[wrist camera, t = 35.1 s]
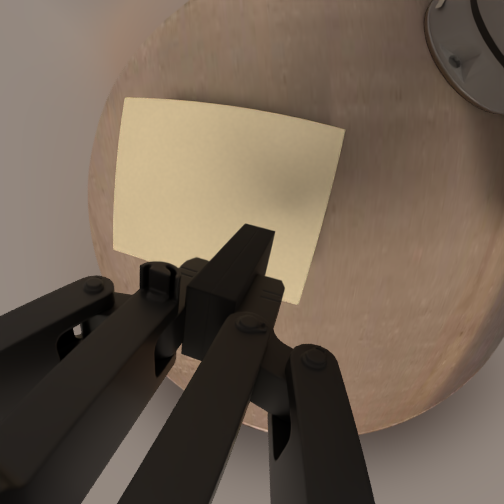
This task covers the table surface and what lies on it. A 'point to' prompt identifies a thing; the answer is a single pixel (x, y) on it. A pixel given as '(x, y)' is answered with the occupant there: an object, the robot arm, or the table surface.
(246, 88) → the table surface
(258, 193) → the lid
